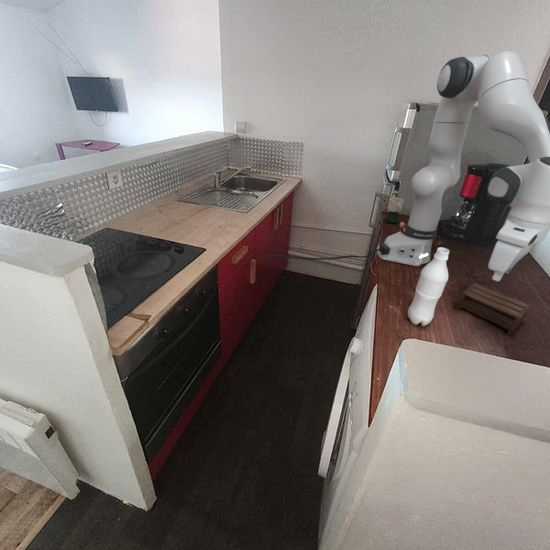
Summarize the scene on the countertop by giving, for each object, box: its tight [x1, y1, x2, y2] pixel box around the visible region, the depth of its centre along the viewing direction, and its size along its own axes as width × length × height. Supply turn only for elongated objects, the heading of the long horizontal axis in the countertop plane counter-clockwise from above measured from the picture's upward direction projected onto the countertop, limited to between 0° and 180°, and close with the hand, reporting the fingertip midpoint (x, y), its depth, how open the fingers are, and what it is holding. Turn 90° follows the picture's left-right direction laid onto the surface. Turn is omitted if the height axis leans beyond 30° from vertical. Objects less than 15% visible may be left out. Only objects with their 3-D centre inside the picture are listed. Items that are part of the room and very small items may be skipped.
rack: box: [455, 282, 532, 336], centre depth 94 cm, size 10×16×7 cm, turn 38°
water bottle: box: [407, 246, 450, 327], centre depth 86 cm, size 7×7×25 cm
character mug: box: [385, 196, 405, 224], centre depth 161 cm, size 11×7×13 cm, turn 2°
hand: (500, 275), depth 80 cm, fingers open, 5 cm apart
